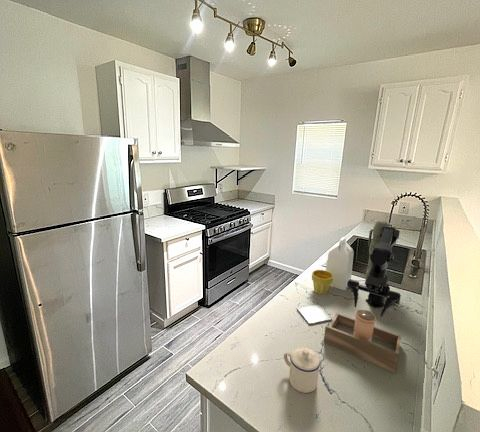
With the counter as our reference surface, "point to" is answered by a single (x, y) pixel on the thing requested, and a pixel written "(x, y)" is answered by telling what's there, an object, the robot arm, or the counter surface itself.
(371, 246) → the thermos
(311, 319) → the slate tile
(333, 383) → the counter surface
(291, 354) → the teacup with lid
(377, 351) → the wooden box frame
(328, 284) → the plant pot
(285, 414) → the counter surface
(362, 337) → the terracotta pot
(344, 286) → the milk
